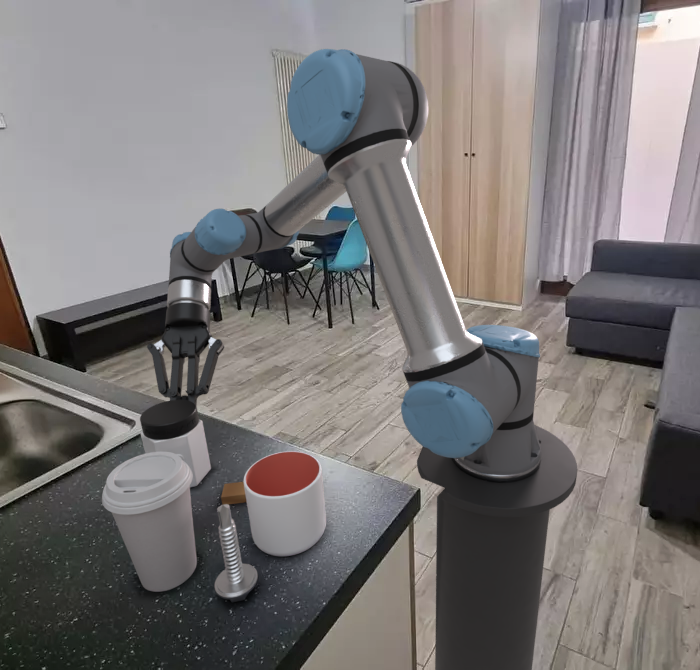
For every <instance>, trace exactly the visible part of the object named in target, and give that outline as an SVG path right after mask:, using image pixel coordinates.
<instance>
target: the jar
mask: <svg viewBox="0 0 700 670" xmlns="http://www.w3.org/2000/svg"><path fill="white" fill-rule="evenodd" d="M139 422H140V425H141V426H140V427H141V430H142V431H140V433H139V434H140V438H141V442H142V446H143V450H144V454H146V453H151V452H171V453H174V454H176V455H178V456H179V457H180V458H181V459H182V460H183V461H184V462H185V463H186V464H187V465H188V466H189V467H190V469H191V471H192V474H193V478H192V482H191V484H190V488H195V487H197V486H198V485H199V484H200V483H201V482H202V480H203V479H204V478H205V477H206V475H207V474H208V473H209V472H210V471H211V469H212V465H211V461H210V455H209V450H208V449H209V448H208V444H207V439H206V434H205V427H204V422H203V420H202V419H200V416H199V412H198V406H196V404H195V403H193V402H191V401H188V400H171V401H170V400H167V401H163V402H159V403H157V404H154V405H152V406H150V407H148V408H147V409H145V410H144V411H143V412H142V413H141V414H140V417H139Z"/></svg>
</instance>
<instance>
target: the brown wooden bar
mask: <svg viewBox="0 0 700 670" xmlns="http://www.w3.org/2000/svg"><path fill="white" fill-rule="evenodd" d="M220 500H221V505H224V504H228V505H234V504H235V505H236V504H244V503H247V501H246V495H245V489H244V481H236V482H229V483H224V484H223V487H222V492H221V496H220Z"/></svg>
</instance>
